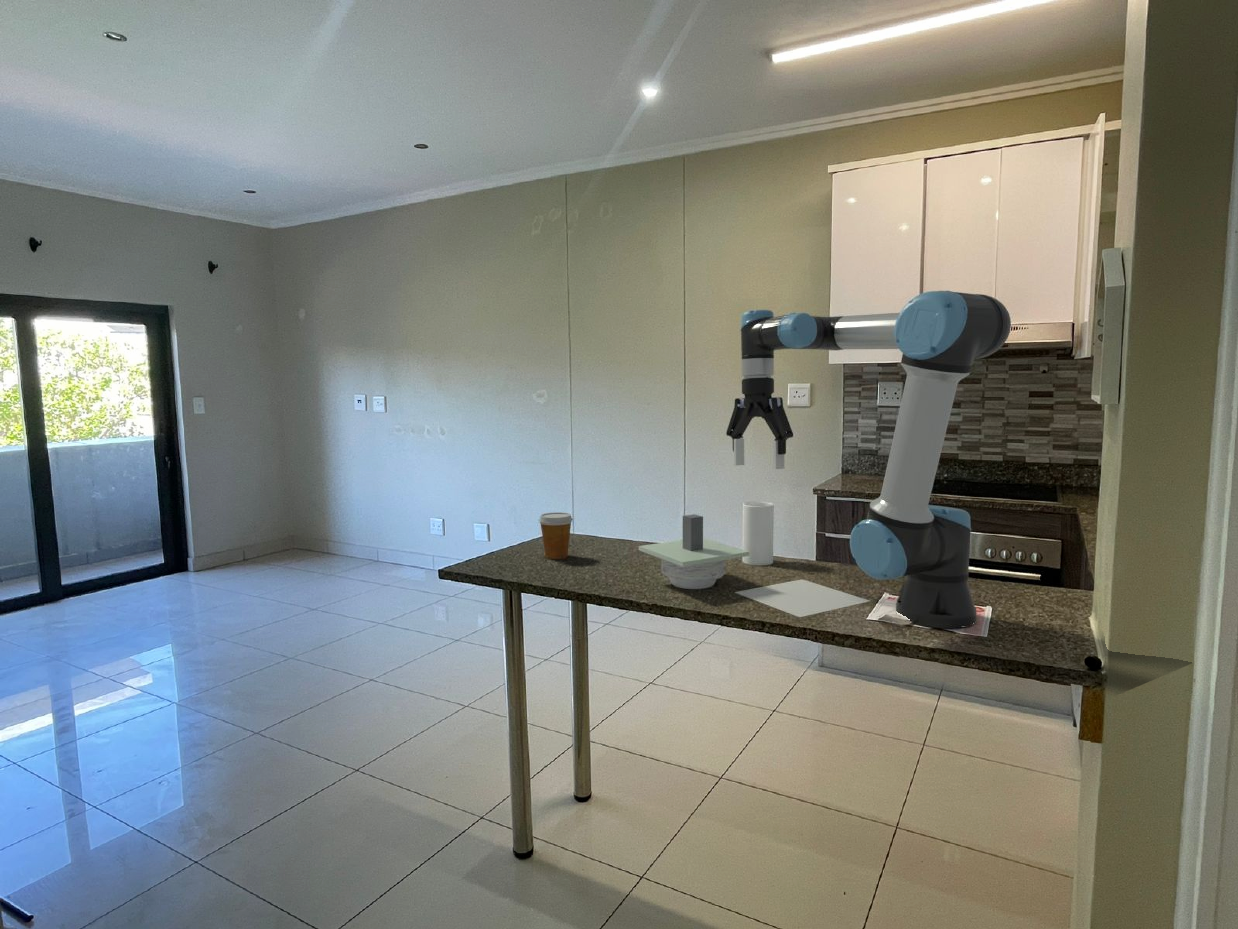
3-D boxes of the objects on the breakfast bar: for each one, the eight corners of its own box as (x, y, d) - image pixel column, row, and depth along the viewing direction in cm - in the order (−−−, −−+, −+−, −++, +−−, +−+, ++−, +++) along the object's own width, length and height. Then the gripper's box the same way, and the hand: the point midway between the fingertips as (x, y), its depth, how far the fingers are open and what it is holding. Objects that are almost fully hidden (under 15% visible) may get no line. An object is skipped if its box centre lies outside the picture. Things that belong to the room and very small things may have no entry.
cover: (749, 555, 168) (749, 518, 167) (682, 566, 159) (682, 526, 158) (701, 541, 185) (701, 506, 184) (638, 550, 175) (638, 514, 174)
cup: (775, 565, 190) (776, 506, 188) (744, 565, 190) (745, 506, 188) (769, 558, 198) (770, 501, 196) (740, 558, 198) (740, 501, 197)
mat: (870, 602, 157) (870, 601, 157) (799, 619, 146) (799, 617, 146) (802, 580, 175) (802, 579, 175) (734, 594, 164) (734, 592, 164)
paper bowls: (735, 582, 174) (735, 550, 174) (706, 597, 162) (706, 563, 161) (680, 573, 183) (680, 543, 182) (649, 587, 171) (649, 555, 170)
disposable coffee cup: (539, 553, 207) (538, 512, 206) (572, 552, 208) (571, 511, 207) (539, 561, 198) (538, 518, 196) (574, 560, 199) (573, 517, 197)
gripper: (808, 374, 160) (809, 469, 162) (734, 379, 181) (735, 462, 183) (784, 374, 156) (785, 471, 158) (711, 379, 177) (712, 464, 179)
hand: (758, 467), depth 170 cm, fingers open, 13 cm apart
